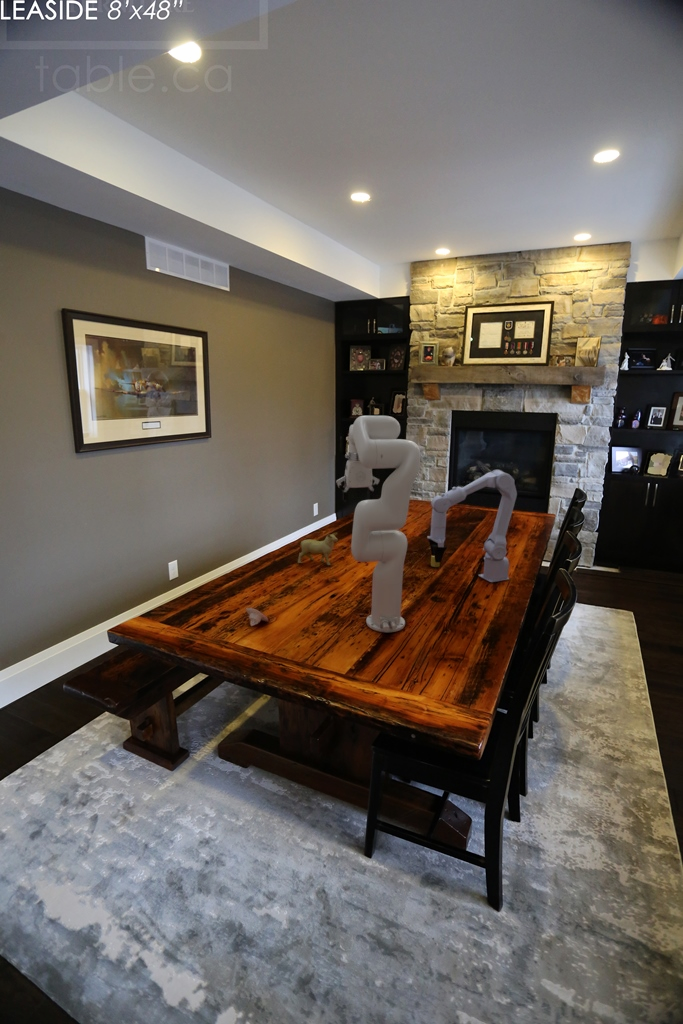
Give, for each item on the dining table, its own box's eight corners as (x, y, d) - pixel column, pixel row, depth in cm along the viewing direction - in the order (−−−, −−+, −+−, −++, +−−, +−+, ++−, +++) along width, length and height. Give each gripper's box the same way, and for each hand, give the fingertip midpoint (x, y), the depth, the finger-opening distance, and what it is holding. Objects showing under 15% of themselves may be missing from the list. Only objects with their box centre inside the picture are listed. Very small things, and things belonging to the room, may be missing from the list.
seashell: (251, 634, 162) (235, 615, 161) (262, 623, 165) (246, 604, 164) (262, 630, 156) (245, 610, 155) (273, 618, 159) (257, 599, 158)
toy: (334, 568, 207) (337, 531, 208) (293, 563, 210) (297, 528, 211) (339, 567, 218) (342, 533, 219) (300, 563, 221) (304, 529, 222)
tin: (431, 563, 220) (431, 554, 219) (439, 564, 219) (440, 554, 218) (430, 566, 216) (430, 556, 215) (439, 567, 215) (439, 557, 214)
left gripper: (339, 459, 183) (339, 504, 187) (383, 458, 189) (381, 502, 193) (333, 456, 190) (333, 500, 194) (376, 455, 196) (374, 498, 200)
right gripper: (425, 521, 205) (423, 552, 208) (431, 531, 191) (429, 564, 194) (442, 521, 205) (440, 553, 208) (450, 531, 191) (447, 565, 194)
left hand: (357, 501), depth 194 cm, fingers open, 9 cm apart
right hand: (436, 558), depth 201 cm, fingers open, 7 cm apart
